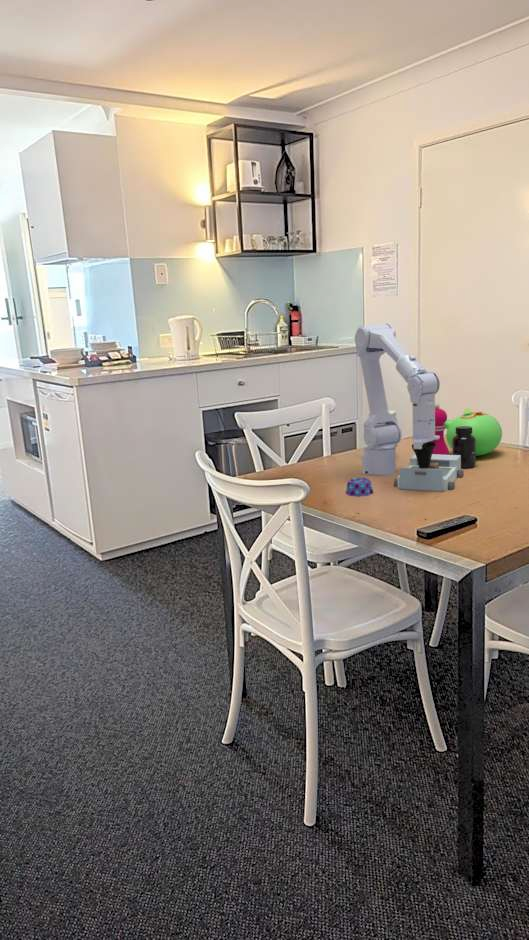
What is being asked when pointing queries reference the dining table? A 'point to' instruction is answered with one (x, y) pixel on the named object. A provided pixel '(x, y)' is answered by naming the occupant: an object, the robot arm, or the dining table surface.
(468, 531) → the dining table surface
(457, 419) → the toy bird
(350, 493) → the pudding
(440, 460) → the ute bed
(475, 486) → the dining table surface
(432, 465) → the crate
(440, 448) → the pepper mill
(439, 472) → the panel
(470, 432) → the supplement bottle
